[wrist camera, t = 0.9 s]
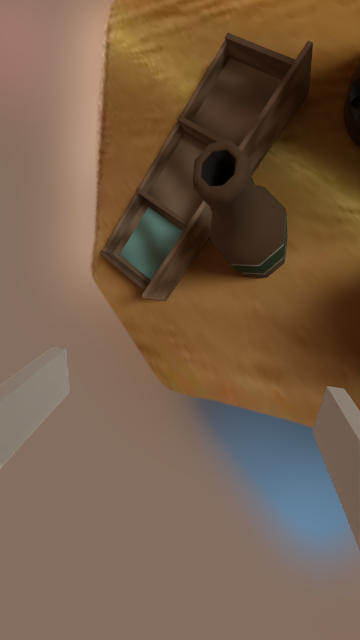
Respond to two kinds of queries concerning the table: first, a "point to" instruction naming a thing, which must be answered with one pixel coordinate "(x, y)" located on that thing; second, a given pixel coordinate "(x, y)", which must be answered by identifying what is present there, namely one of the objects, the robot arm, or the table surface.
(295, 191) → the table surface
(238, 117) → the condiment rack
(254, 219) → the beer bottle
